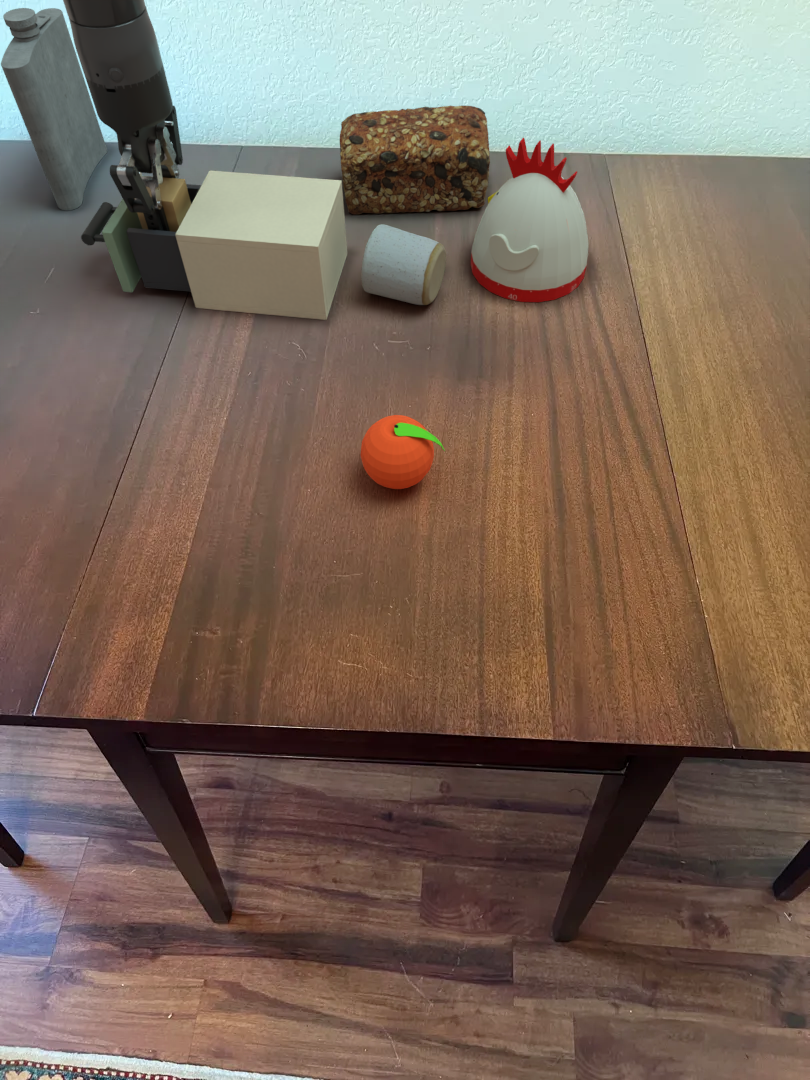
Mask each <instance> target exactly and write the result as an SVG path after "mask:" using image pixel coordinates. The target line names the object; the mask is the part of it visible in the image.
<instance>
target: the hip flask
mask: <svg viewBox="0 0 810 1080" xmlns="http://www.w3.org/2000/svg"><path fill="white" fill-rule="evenodd" d="M2 18H3V21H4V23H5V25H6V26H7V27H8V28H9V30H10V34H11V36H12V39H11V41H10V42H9V44H8V45H7V47H6V49H5V51H4V54H3V55H2V58H1V61H0V66H1V68H2V71H3V73H4V76H5V78H6V82H7V83H8V86H9V89H10V90H11V93H12V96H13V98H14V99H13V100H14V101H15V103H16V106H17V108H18V111H19V114H20V116H21V118H22V121H23V123H24V126H25V128H26V131H27V133H28V135H29V138H30V140H31V143H32V145H33V149H34V151H35V153H36V155H37V158H38V161H39V163H40V165H41V168H42V170H43V173H44V175H45V178H46V180H47V183H48V185H49V188H50V191H51V192H52V195H53V197H54V200H55V203H56V205H57V208H58V209H59V210H61V211H73V210H76V209H78V208H80V207H81V206H82V204H83V199H84V194H85V191H86V187H87V185H88V183H89V181H90V178H91V177H92V174H93V173H94V170H95V169H96V167H97V166H98V165H99V163H100V162H101V161H102V159H103V158H104V157H105V156H106V155H107V153H108V148H107V144H106V141H105V139H104V136H103V132H102V129H101V126H100V123H99V120H98V116H97V113H96V110H95V107H94V104H93V100H92V97H91V94H90V91H89V88H88V87H87V86H88V85H87V82H86V79H85V76H84V73H83V70H82V67H81V64H80V61H79V57H78V56H77V55H78V54H77V51H76V48H75V45H74V44H73V43H74V42H73V40H72V37H71V35H70V31H69V28H68V25H67V22H66V19H65V15H64V13H63V10H61V9H60V8H56V7H49V8H43V9H41V10H39V11H37V12H36V11H35V10H34V9H32V8H29V7H19V8H13V9H10V10H7V11H6V12H5V13H3V16H2Z"/></svg>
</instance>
